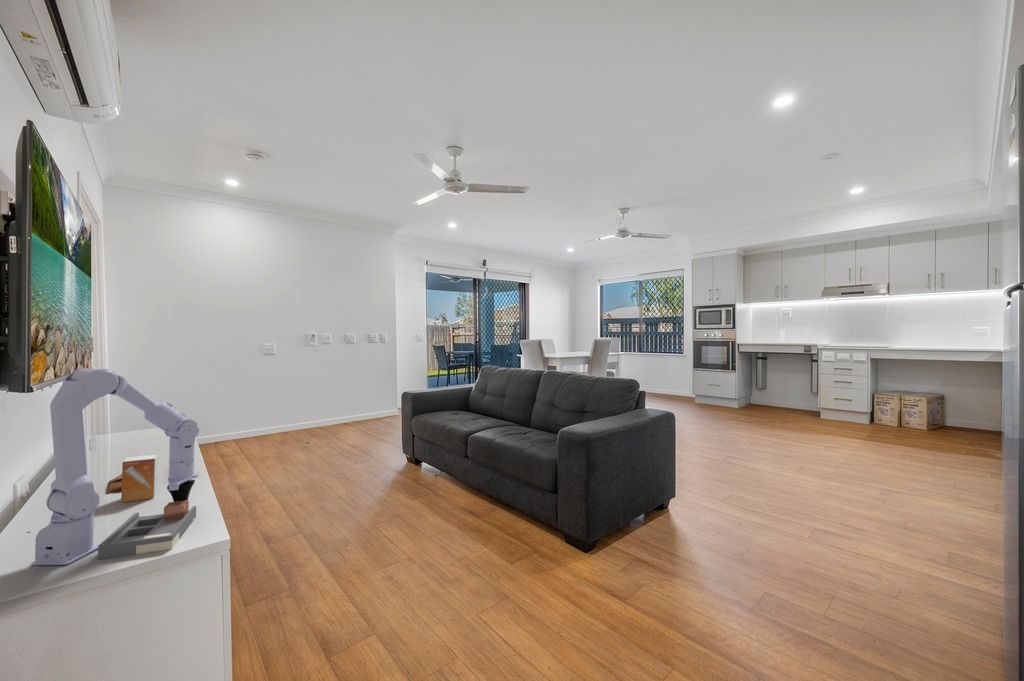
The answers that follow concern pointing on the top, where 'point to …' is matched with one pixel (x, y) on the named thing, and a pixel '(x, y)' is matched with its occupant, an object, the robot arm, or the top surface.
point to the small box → (139, 478)
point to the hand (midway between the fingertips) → (180, 508)
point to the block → (176, 510)
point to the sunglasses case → (115, 485)
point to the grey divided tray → (145, 535)
